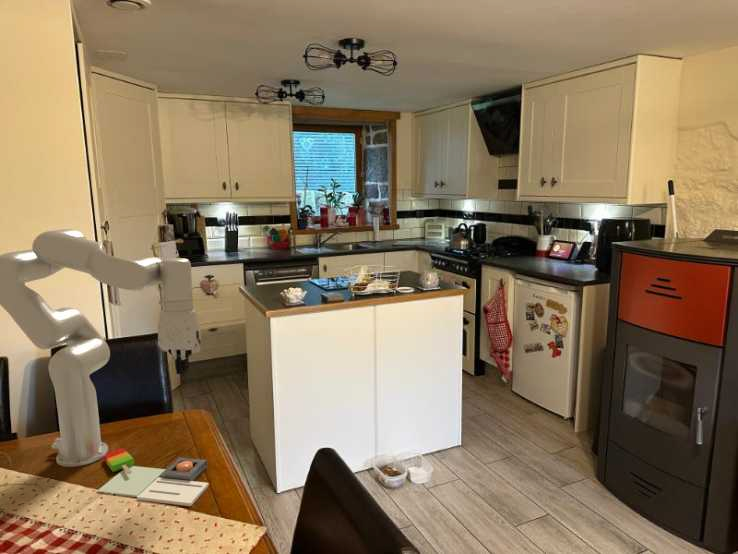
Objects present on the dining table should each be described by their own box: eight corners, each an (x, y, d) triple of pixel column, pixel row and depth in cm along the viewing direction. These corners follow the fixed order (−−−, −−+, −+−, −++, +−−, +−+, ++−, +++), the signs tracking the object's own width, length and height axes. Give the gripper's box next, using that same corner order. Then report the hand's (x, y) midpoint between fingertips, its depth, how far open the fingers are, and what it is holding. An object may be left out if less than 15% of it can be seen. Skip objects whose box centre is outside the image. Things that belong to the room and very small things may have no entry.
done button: (173, 475, 132) (173, 468, 132) (182, 467, 136) (181, 460, 135) (187, 476, 131) (187, 469, 131) (195, 468, 135) (195, 461, 135)
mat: (97, 493, 125) (96, 490, 125) (128, 467, 137) (128, 465, 136) (137, 497, 123) (137, 495, 123) (166, 471, 134) (165, 469, 134)
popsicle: (117, 474, 129) (102, 454, 140) (118, 481, 129) (103, 461, 140) (140, 465, 132) (123, 447, 143) (141, 472, 132) (124, 453, 144)
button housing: (162, 480, 130) (161, 473, 130) (179, 464, 138) (179, 457, 138) (191, 483, 129) (190, 476, 128) (206, 467, 137) (206, 460, 136)
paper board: (137, 499, 122) (136, 496, 122) (158, 480, 130) (158, 477, 130) (190, 506, 119) (190, 502, 119) (208, 485, 128) (208, 482, 128)
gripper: (143, 307, 132) (148, 375, 135) (196, 309, 129) (201, 379, 132) (160, 301, 139) (165, 366, 142) (211, 303, 136) (215, 369, 139)
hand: (182, 372), depth 137 cm, fingers closed
